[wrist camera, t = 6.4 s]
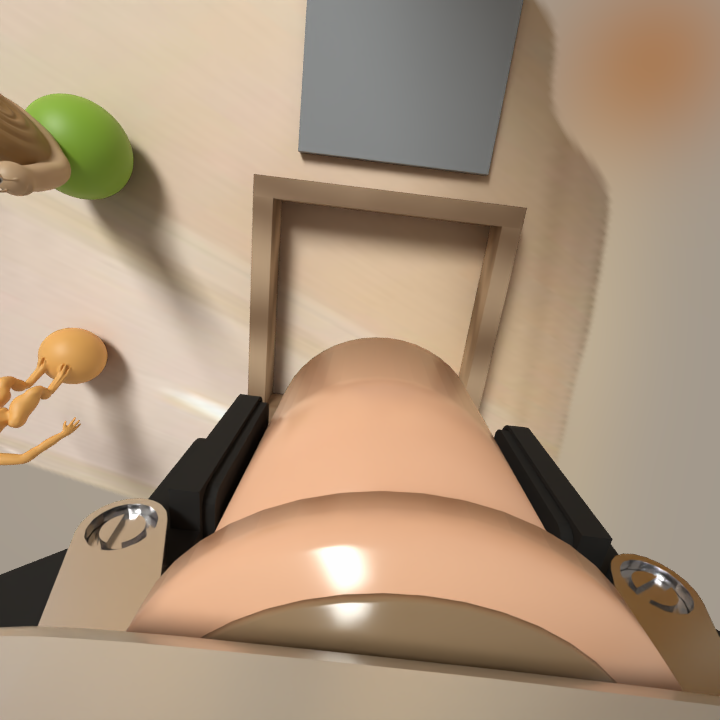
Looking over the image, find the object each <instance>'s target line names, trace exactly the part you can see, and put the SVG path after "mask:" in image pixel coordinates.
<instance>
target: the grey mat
mask: <svg viewBox="0 0 720 720" xmlns="http://www.w3.org/2000/svg"><path fill="white" fill-rule="evenodd" d="M522 5H523V0H307V10H306V27H305V44H304V61H303V78H302V95H301V113H300V130H299V147H298V151H299V152H301V153H309V154H317V155H325V156H333V157H341V158H349V159H357V160H365V161H373V162H381V163H389V164H397V165H405V166H413V167H421V168H429V169H437V170H445V171H453V172H461V173H469V174H477V175H485V176H486V175H488V173H489V168H490V163H491V158H492V153H493V148H494V143H495V138H496V134H497V129H498V124H499V119H500V114H501V109H502V104H503V99H504V94H505V89H506V84H507V79H508V74H509V69H510V64H511V59H512V54H513V49H514V44H515V39H516V34H517V30H518V25H519V20H520V15H521V10H522Z"/></svg>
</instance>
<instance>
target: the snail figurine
mask: <svg viewBox="0 0 720 720" xmlns="http://www.w3.org/2000/svg"><path fill="white" fill-rule="evenodd" d="M132 170H133V152H132V147H131V144H130V142H129V139H128V137H127V135H126V133H125V132H124V130H123V128H122V127H121V126H120V124H119V123H118V122H117V121H116V120H115V118H114V117H113V116H112V115H110V114H109V113H108V112H107V111H106V110H104V109H103V108H102V107H100V106H99V105H97V104H95V103H94V102H92V101H90V100H87V99H85V98H82V97H79V96H76V95H71V94H50V95H46V96H43V97H41V98H39V99H37V100H35V101H34V102H32V103H31V104H30V105H29V106H28V107H27V108H26V110H24V109H23V108H21V107H20V106H18V105H17V104H15V103H14V102H12V101H11V100H9V99H7V98H6V97H4V96H3V95H1V94H0V188H1V189H2V190H1V191H0V192H7V193H9V194H12V195H15V196H25V195H28V194H30V193H32V192H40V191H46V190H51V189H56V190H58V191H60V192H62V193H64V194H67V195H69V196H72V197H76V198H80V199H89V200H95V199H102V198H106V197H109V196H112V195H114V194H116V193H117V192H119V191H120V190H121V189H122V188H123V187H124V186H125V185H126V184H127V182H128V181H129V179H130V176H131V174H132Z"/></svg>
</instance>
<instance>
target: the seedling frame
mask: <svg viewBox="0 0 720 720" xmlns="http://www.w3.org/2000/svg"><path fill="white" fill-rule="evenodd" d="M282 201H289V202H297V203H305V204H313V205H321V206H329V207H337V208H345V209H353V210H362V211H370V212H378V213H386V214H394V215H402V216H410V217H418V218H426V219H435V220H443V221H451V222H459V223H467V224H475V225H483V226H491V227H490V232H489V237H488V241H487V246H486V251H485V255H484V260H483V265H482V270H481V274H480V279H479V284H478V288H477V293H476V298H475V303H474V307H473V312H472V317H471V322H470V326H469V331H468V336H467V340H466V345H465V350H464V355H463V359H462V364H461V369H460V373H459V378H460V380H461V381H462V383H463V384H464V386H465V387H466V389H467V391H468V393H469V394H470V396H471V398H472V400H473V402H474V403H475V405H476V407H477V409H478V410H479V408H480V404H481V400H482V395H483V391H484V387H485V383H486V378H487V374H488V370H489V366H490V362H491V357H492V353H493V349H494V345H495V340H496V336H497V332H498V328H499V324H500V319H501V315H502V311H503V307H504V302H505V298H506V294H507V290H508V286H509V281H510V277H511V273H512V269H513V264H514V260H515V256H516V252H517V247H518V243H519V239H520V235H521V231H522V226H523V222H524V218H525V214H526V209H527V208H523V207H515V206H507V205H499V204H491V203H483V202H475V201H467V200H459V199H451V198H443V197H434V196H426V195H418V194H410V193H402V192H394V191H386V190H378V189H370V188H362V187H354V186H346V185H338V184H330V183H322V182H314V181H306V180H297V179H289V178H281V177H273V176H265V175H257V174H254V186H253V223H252V261H251V299H250V337H249V375H248V395H252V396H261V397H262V400H263V402H266V403H269V423H270V421H271V419H272V417H273V415H274V413H275V411H276V409H277V407H278V405H279V403H280V401H281V399H282V397H283V395H284V394H275V393H273V374H274V353H275V333H276V312H277V292H278V271H279V250H280V230H281V209H282Z"/></svg>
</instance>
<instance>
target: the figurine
mask: <svg viewBox="0 0 720 720" xmlns="http://www.w3.org/2000/svg"><path fill="white" fill-rule="evenodd" d="M106 362H107V350H106V347H105V345H104V343H103V342H102V341H101V339H100V338H99V337H98V336H96V335H95V334H93V333H92V332H90V331H87V330H84V329H80V328H65V329H61V330H58V331H56V332H53V333H52V334H50V335H49V336H48V337H46V338H45V340H44V341H43V342H42V344H41V345H40V348H39V351H38V363H37V368H36V370H35V371H34V372H33V373H32V375H31V376H30V377H29V378H28V379H27V380H26V382H24V381H22V380H19V379H16V378H14V377H11V376H7V377H1V378H0V432H1V431H2V430H3V429H4V427H6V426H7V425H9V426H10V427H13V428H19V427H21V426H23V425H24V424H25V423H26V421H27V419H28V417H29V415H30V414H31V413H32V411H33V410H34V409H35V408H36V406H37V405H38V403H39V401H40V398H41V399H48V398H49V397H50V396H51V395H52V394H53V393H54V392H55V391H56V390H57V388H58V387H59V386H60V385H61V383H66V384H79V383H84V382H87V381H90V380H92V379H93V378H95V377H96V376H98V375H99V374H100V373H101V372H102V370H103V369H104V367H105V365H106ZM44 373H46V374H47V375H48V376H49V377H51V378H52V379H54V380H53V382H52V383H51V384H50V385H49V387H48V388H45V387H43V386H35V387H32V388H30V387H31V386H32V385H33V384H34V383H35V382H36V381H37V380H38V379H39V378H40V377H41V376H42V375H43V374H44ZM10 388H12V389H13V390H14V391H23V390H25V389H28V388H30V389H28V390H27V391H26V392H25V393H24V394H22V395H20V396H18V397H16V398H15V399H14V400H13V401H12V402H11V404H10V407H9V410H8V409H7V408H2V407H3V406H4V405H5V404H6V403H7V402H8V401H9V400H10V398H11V393H10ZM74 421H75V418H74V419H73V420H72V421H71V423H70V424H69V425H68V426H66V421H65V422H64V424H63V431H62V432H61V433H58V434H56V435H54V436H52V437H50V438H48V439H46V440H45V441H43V442H42V443H41V444H39V445H38V446H36V447H34V448H32V449H30V450H29V451H27V452H26V453H24V454H9V453H0V465H16V464H24V463H27V462H29V461H31V460H32V459H34V458H35V457H36V456H38V455H39V454H40V453H42V452H43V451H45V450H46V449H48V448H49V447H51V446H53V445H54V444H56V443H57V442H58V441H59V440H61V439H62V438H64V437H66V436H68V435H70V434H71V433H73V432H74V431H75V430H76V429H77V428H78V427H79V426H80V425H81V424H79V425H78V426H77V427H75V426H76V425H77V424H78V423H79V421H80V420H78V421H77V422H76V423H75V424H74V425H73V422H74Z"/></svg>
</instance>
